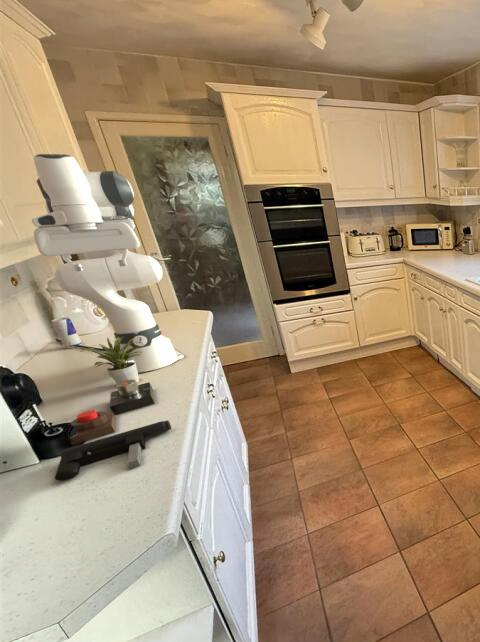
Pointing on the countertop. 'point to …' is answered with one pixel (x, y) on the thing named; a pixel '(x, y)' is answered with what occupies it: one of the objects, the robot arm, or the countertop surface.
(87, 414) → the power button
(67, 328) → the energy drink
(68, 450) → the black gun
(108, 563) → the countertop surface
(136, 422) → the countertop surface
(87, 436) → the power base
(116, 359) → the house plant
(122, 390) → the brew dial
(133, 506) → the countertop surface
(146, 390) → the dial panel
